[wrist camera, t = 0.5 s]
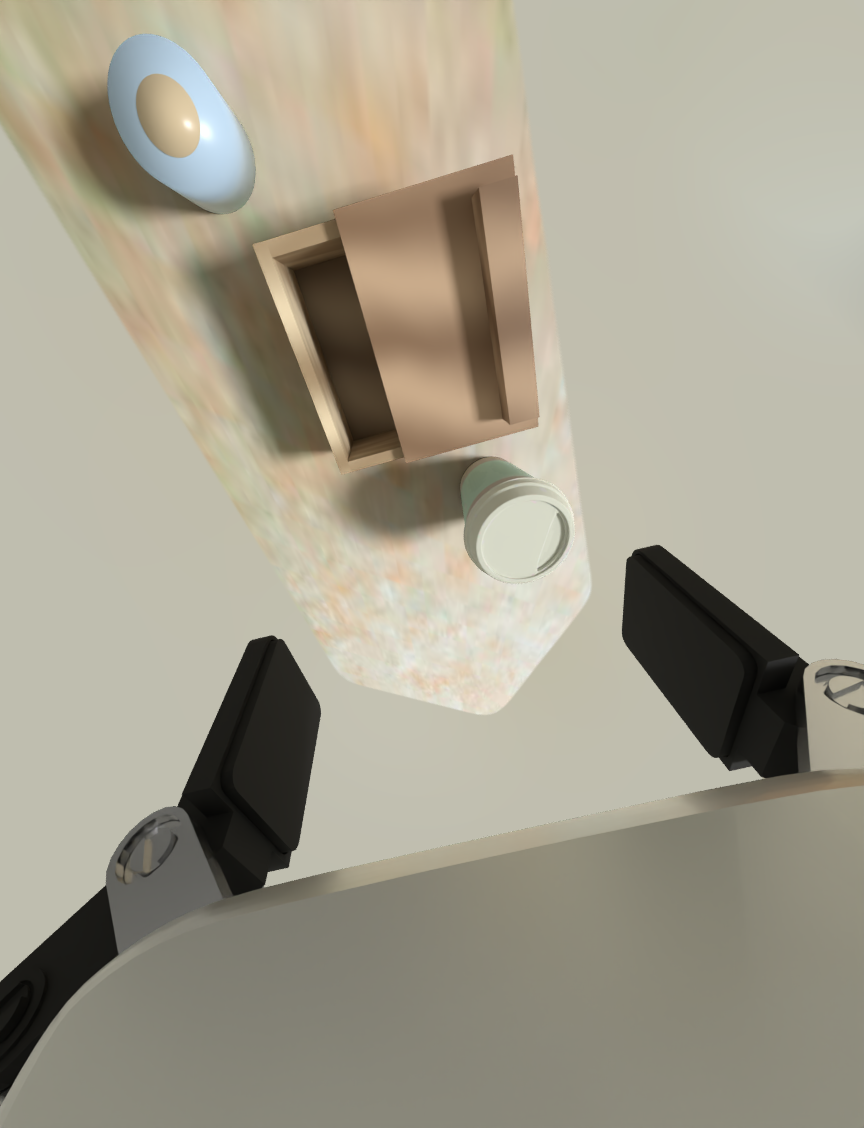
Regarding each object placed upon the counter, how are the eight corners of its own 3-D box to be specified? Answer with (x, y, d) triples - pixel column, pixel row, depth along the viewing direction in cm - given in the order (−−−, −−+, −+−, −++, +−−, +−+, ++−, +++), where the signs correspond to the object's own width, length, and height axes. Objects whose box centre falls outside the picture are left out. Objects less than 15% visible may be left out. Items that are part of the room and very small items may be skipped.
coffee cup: (488, 538, 42) (521, 607, 32) (428, 491, 38) (444, 551, 28) (547, 479, 39) (605, 533, 29) (489, 422, 35) (531, 461, 25)
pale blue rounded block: (141, 107, 24) (80, 52, 19) (228, 78, 23) (188, 16, 19) (193, 224, 27) (151, 203, 22) (270, 200, 26) (245, 173, 22)
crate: (280, 261, 28) (252, 244, 22) (413, 220, 28) (421, 192, 22) (348, 449, 35) (341, 474, 29) (454, 419, 35) (469, 439, 29)
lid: (334, 213, 22) (328, 199, 19) (508, 159, 21) (524, 139, 19) (405, 460, 29) (407, 471, 27) (534, 424, 29) (548, 432, 26)
